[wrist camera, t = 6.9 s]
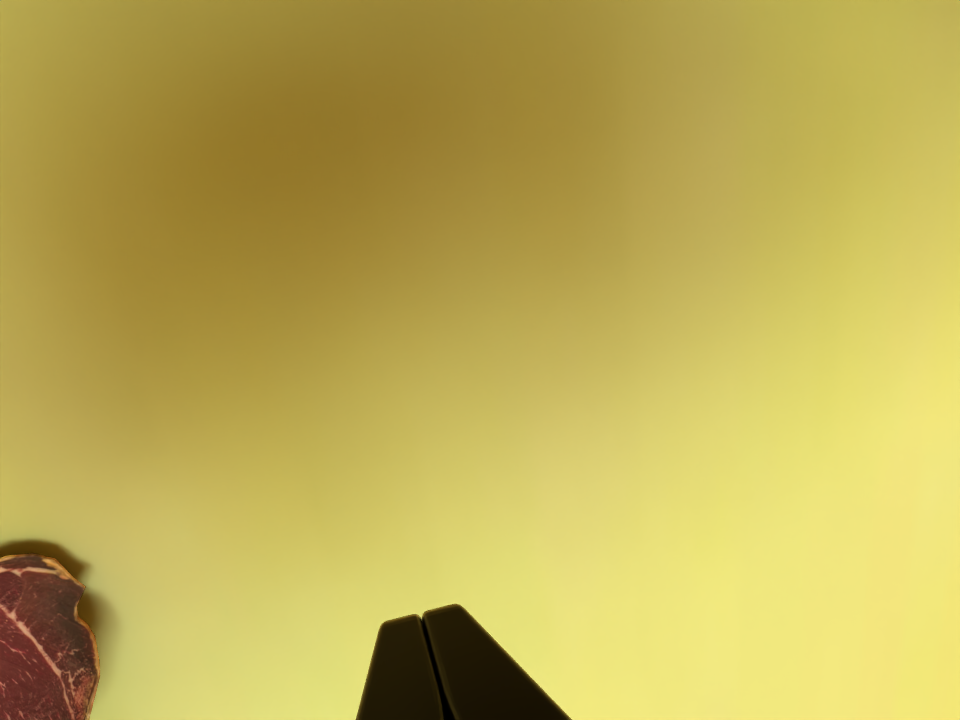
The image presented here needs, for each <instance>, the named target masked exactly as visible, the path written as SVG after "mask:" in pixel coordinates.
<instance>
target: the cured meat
mask: <svg viewBox="0 0 960 720" xmlns="http://www.w3.org/2000/svg"><path fill="white" fill-rule="evenodd" d="M85 587H86V586H84V585H83V584H82V583H80V582H79V581H78V580H76V579H75V578H74V577H73V576H72V575H71V574H70V573H69V572H68V571H67V570H66V569H65V568H64V567H63V566H62V565H61V564H60V563H59V562H58V561H57V560H56V559H55V558H51V557H47V556H42V555H38V554H34V553H32V554H20V555H8V556H4V557H1V558H0V720H89V718H90V714H91V710H92V706H93V702H94V698H95V694H96V690H97V686H98V682H99V678H100V665H99V656H98V650H97V645H96V639H95V635H94V634H93V632H92V630H91V629H90V627H89V626H88V624H87V623H86V622H85V621H83V620H82V619H81V618H80V617H79V616H78V611H77V605H78V603H79V600H80V598H81V596H82V594H83V592H84V590H85Z"/></svg>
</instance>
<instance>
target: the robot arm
mask: <svg viewBox="0 0 960 720" xmlns="http://www.w3.org/2000/svg"><path fill="white" fill-rule="evenodd" d="M356 720H572V719H571V718H570V717H569V716H568V715H567V714H566V713H565V712H564V711H563V710H562V709H561V708H560V707H559V706H558V705H557V704H556V703H555V702H554V701H553V700H552V699H551V698H550V697H549V696H548V695H547V693H546V692H545V691H544V690H543V689H542V688H541V687H540V686H539V685H538V684H537V683H536V682H535V681H534V680H533V679H532V678H531V677H530V676H529V675H528V674H527V673H526V672H525V671H524V670H523V669H522V668H521V667H520V665H519V664H518V663H517V662H516V661H515V660H514V659H513V658H512V657H511V656H510V655H509V654H508V653H507V652H506V651H505V650H504V649H503V648H502V647H501V646H500V645H499V644H498V643H497V642H496V641H495V640H494V639H493V637H492V636H491V635H490V634H489V633H488V632H487V631H486V630H485V629H484V628H483V627H482V626H481V625H480V624H479V623H478V622H477V621H476V620H475V619H474V618H473V617H472V616H471V615H470V614H469V613H468V612H467V611H466V610H465V609H464V608H463V607H462V606H461V605H458V604H452V605H448V606H444V607H440V608H436V609H432V610H428V611H426V612H424V613H423V616H422V620H421V617H420V616H419V615H416V614H412V615H408V616H404V617H400V618H396V619H392V620H388V621H385V622H384V623H382V625H381V626H380V629H379V632H378V635H377V639H376V643H375V647H374V651H373V655H372V659H371V663H370V667H369V670H368V674H367V678H366V682H365V686H364V690H363V694H362V698H361V702H360V705H359V709H358V713H357V717H356Z"/></svg>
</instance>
